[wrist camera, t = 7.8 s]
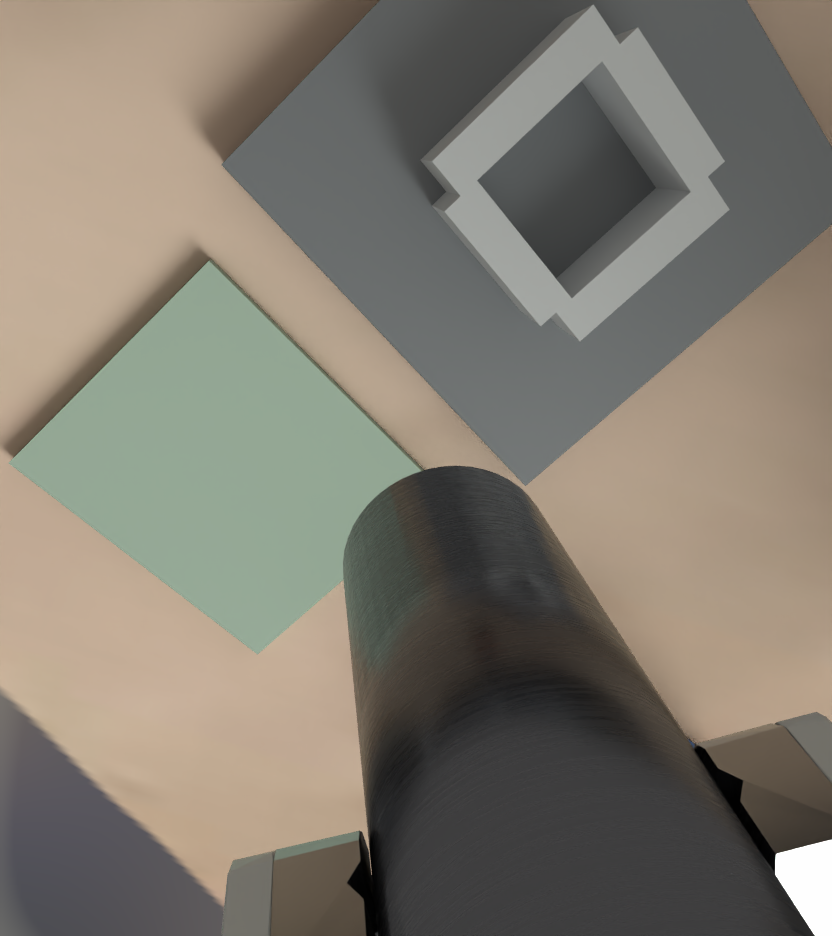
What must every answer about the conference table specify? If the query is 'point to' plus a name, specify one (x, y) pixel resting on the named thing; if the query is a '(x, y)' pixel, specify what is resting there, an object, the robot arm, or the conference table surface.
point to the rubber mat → (219, 460)
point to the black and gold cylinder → (524, 740)
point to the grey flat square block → (544, 194)
